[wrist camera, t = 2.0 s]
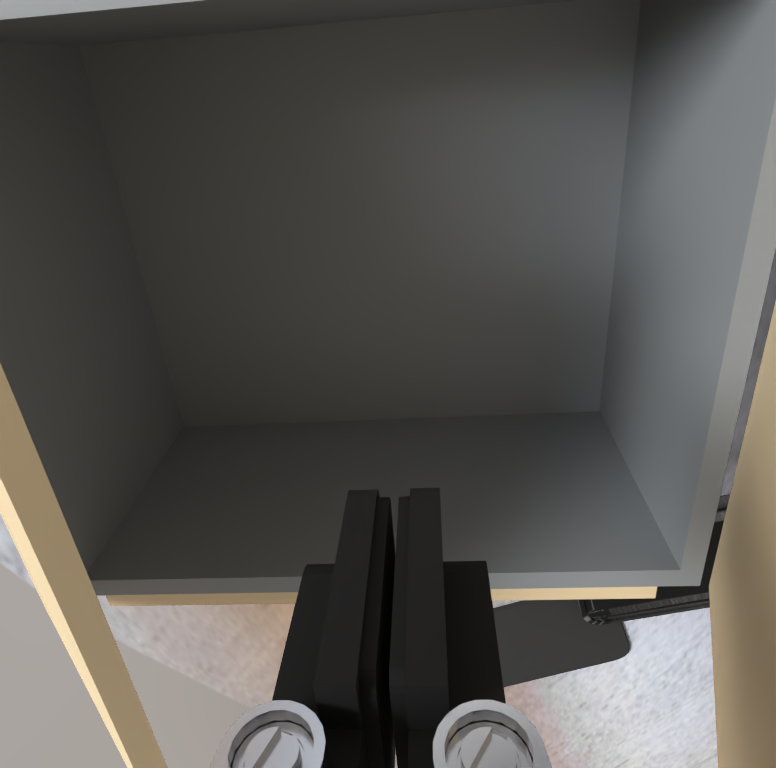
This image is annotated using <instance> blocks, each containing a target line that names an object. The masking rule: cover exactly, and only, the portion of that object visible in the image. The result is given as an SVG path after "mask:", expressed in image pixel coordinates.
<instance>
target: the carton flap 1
mask: <svg viewBox="0 0 776 768" xmlns="http://www.w3.org/2000/svg"><path fill="white" fill-rule="evenodd" d="M0 513H1V515H2V518H3V520H4V522H5V524H6V526H7V528H8V530H9V532H10V534H11V537H12V539H13V541H14V543H15V545H16V547H17V549H18V551H19V553H20V556H21V558H22V560H23V562H24V564H25V566H26V568H27V570H28V572H29V575H30V577H31V579H32V581H33V583H34V585H35V587H36V589H37V591H38V594H39V596H40V598H41V600H42V602H43V604H44V606H45V608H46V610H47V612H48V614H49V616H50V618H51V620H52V621H53V624H54V626H55V627H56V629H57V631H58V633H59V635H60V637H61V639H62V641H63V643H64V645H65V647H66V649H67V651H68V653H69V655H70V657H71V658H72V661H73V663H74V664H75V666H76V668H77V670H78V672H79V674H80V676H81V678H82V680H83V682H84V684H85V686H86V688H87V690H88V691H89V693H90V695H91V698H92V699H93V701H94V703H95V705H96V707H97V709H98V711H99V713H100V715H101V717H102V719H103V720H104V723H105V725H106V727H107V728H108V731H109V732H110V734H111V736H112V738H113V740H114V742H115V744H116V746H117V748H118V750H119V752H120V754H121V756H122V758H123V760H124V762H125V763H126V765H127V768H167V765H166V763H165V760H164V758H163V755H162V753H161V751H160V748H159V746H158V744H157V741H156V738H155V736H154V734H153V731H152V729H151V726H150V724H149V722H148V719H147V717H146V714H145V712H144V709H143V707H142V705H141V702H140V700H139V697H138V695H137V692H136V690H135V688H134V685H133V683H132V680H131V678H130V676H129V673H128V671H127V668H126V666H125V663H124V661H123V659H122V656H121V654H120V651H119V649H118V647H117V644H116V642H115V639H114V637H113V634H112V632H111V630H110V627H109V625H108V622H107V620H106V617H105V615H104V613H103V610H102V608H101V605H100V603H99V601H98V598H97V596H96V593H95V591H94V588H93V586H92V584H91V581H90V579H89V576H88V574H87V572H86V569H85V567H84V564H83V562H82V559H81V557H80V555H79V552H78V550H77V547H76V545H75V542H74V540H73V538H72V535H71V533H70V530H69V528H68V526H67V523H66V521H65V518H64V516H63V513H62V511H61V509H60V506H59V504H58V501H57V499H56V497H55V494H54V492H53V489H52V487H51V484H50V482H49V480H48V477H47V475H46V472H45V470H44V468H43V465H42V463H41V460H40V458H39V455H38V453H37V451H36V448H35V446H34V443H33V441H32V438H31V436H30V434H29V431H28V429H27V426H26V424H25V422H24V419H23V417H22V414H21V412H20V409H19V407H18V405H17V402H16V400H15V397H14V395H13V393H12V390H11V388H10V385H9V383H8V380H7V378H6V376H5V373H4V371H3V368H2V366H1V363H0Z"/></svg>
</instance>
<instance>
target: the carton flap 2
mask: <svg viewBox="0 0 776 768" xmlns="http://www.w3.org/2000/svg"><path fill="white" fill-rule="evenodd" d="M709 598H710V617H711V636H712V655H713V674H714V694H715V713H716V732H717V751H718V768H776V301H775V306H774V310H773V314H772V318H771V323H770V327H769V331H768V336H767V340H766V344H765V348H764V353H763V357H762V361H761V365H760V370H759V374H758V378H757V383H756V387H755V391H754V395H753V400H752V404H751V408H750V412H749V417H748V421H747V425H746V430H745V434H744V438H743V442H742V447H741V451H740V455H739V459H738V464H737V468H736V472H735V476H734V481H733V485H732V489H731V494H730V498H729V502H728V506H727V511H726V515H725V519H724V523H723V528H722V532H721V536H720V541H719V545H718V549H717V553H716V558H715V562H714V566H713V570H712V575H711V579H710V583H709Z"/></svg>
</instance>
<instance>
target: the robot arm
mask: <svg viewBox="0 0 776 768" xmlns="http://www.w3.org/2000/svg"><path fill="white" fill-rule="evenodd" d="M395 747H396V756H397V765H398V768H552V766H551V763H550V760H549V757H548V754H547V751H546V748H545V745H544V742H543V740H542V738H541V736H540V734H539V733H538V731H537V729H536V727H535V726H534V725H533V723H532V722H531V721H530V720H529V719H528V718H527V717H526V716H525V715H524V714H523V713H521V712H520V711H518V710H517V709H515V708H513V707H512V706H510V705H508V704H506V703H505V695H504V687H503V680H502V672H501V665H500V657H499V650H498V642H497V635H496V627H495V620H494V612H493V605H492V597H491V590H490V582H489V575H488V568H487V563H486V561H443V550H442V527H441V504H440V487H439V488H411V489H410V496H405V497H399V503H398V520H397V538H396V554H395V543H394V531H393V520H392V509H391V499H390V497H380V494H379V490H378V489H372V490H349V491H348V494H347V499H346V505H345V510H344V516H343V521H342V527H341V532H340V538H339V544H338V549H337V555H336V560H335V564H307V565H306V567H305V568H304V572H303V575H302V579H301V583H300V587H299V591H298V595H297V600H296V604H295V608H294V612H293V616H292V620H291V624H290V629H289V633H288V637H287V641H286V645H285V649H284V653H283V658H282V662H281V666H280V670H279V674H278V678H277V683H276V687H275V691H274V695H273V699H272V701H270V702H267V703H263V704H260V705H257V706H256V707H254V708H252V709H251V710H249V711H247V712H246V713H244V714H243V715H242V716H241V717H239V718H238V720H236V721H235V722H234V723H233V724H232V725H231V726H230V728H229V729H228V731H227V733H226V734H225V736H224V738H223V739H222V741H221V743H220V745H219V747H218V749H217V751H216V754H215V756H214V758H213V760H212V762H211V764H210V767H209V768H394V767H395Z"/></svg>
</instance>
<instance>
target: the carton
mask: <svg viewBox="0 0 776 768" xmlns="http://www.w3.org/2000/svg"><path fill="white" fill-rule="evenodd" d="M775 250H776V0H0V363H1V366H2V368H3V371H4V373H5V376H6V378H7V380H8V383H9V385H10V388H11V390H12V393H13V395H14V397H15V400H16V402H17V405H18V407H19V409H20V412H21V414H22V417H23V419H24V422H25V424H26V426H27V429H28V431H29V434H30V436H31V438H32V441H33V443H34V446H35V448H36V451H37V453H38V455H39V458H40V460H41V463H42V465H43V468H44V470H45V472H46V475H47V477H48V480H49V482H50V484H51V487H52V489H53V492H54V494H55V497H56V499H57V501H58V504H59V506H60V509H61V511H62V513H63V516H64V518H65V521H66V523H67V526H68V528H69V530H70V533H71V535H72V538H73V540H74V542H75V545H76V547H77V550H78V552H79V555H80V557H81V559H82V562H83V564H84V567H85V569H86V572H87V574H88V576H89V579H90V581H91V584H92V586H93V588H94V591H95V593H96V595H106V597H107V599H108V602H109V604H110V606H156V605H225V604H294V603H296V600H297V595H298V591H299V587H300V583H301V579H302V575H303V572H304V568H305V567H306V565H307V564H335V560H336V555H337V549H338V544H339V538H340V532H341V527H342V521H343V516H344V510H345V505H346V499H347V494H348V491H349V490H372V489H378V490H379V494H380V497H390V499H391V509H392V520H393V531H394V543H395V554H396V538H397V520H398V503H399V497H405V496H410V489H411V488H439V487H440V504H441V527H442V550H443V561H486V563H487V568H488V575H489V582H490V590H491V597H492V601H502V600H572V599H641V598H655V597H656V591H657V586H700V583H701V579H702V574H703V570H704V565H705V561H706V557H707V552H708V548H709V543H710V539H711V534H712V530H713V525H714V521H715V516H716V512H717V508H718V503H719V499H720V494H721V490H722V485H723V481H724V476H725V472H726V468H727V463H728V459H729V454H730V450H731V445H732V441H733V436H734V432H735V427H736V423H737V419H738V414H739V410H740V405H741V401H742V396H743V392H744V387H745V383H746V379H747V374H748V370H749V365H750V361H751V356H752V352H753V347H754V343H755V339H756V334H757V330H758V325H759V321H760V316H761V312H762V307H763V303H764V298H765V294H766V290H767V285H768V281H769V276H770V272H771V267H772V263H773V258H774V254H775Z"/></svg>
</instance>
